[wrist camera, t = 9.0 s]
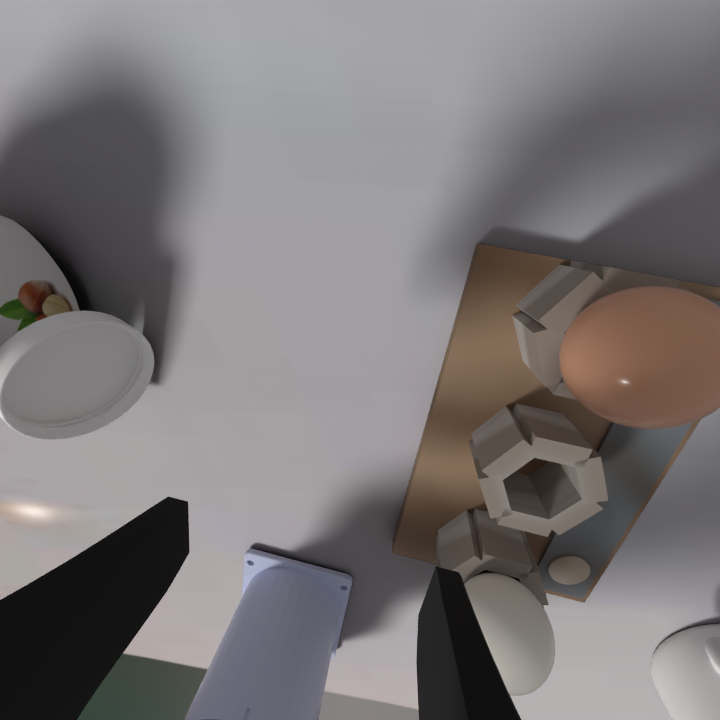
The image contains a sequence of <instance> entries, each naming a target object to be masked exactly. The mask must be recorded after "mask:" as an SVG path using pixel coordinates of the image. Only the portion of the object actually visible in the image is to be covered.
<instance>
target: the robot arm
mask: <svg viewBox="0 0 720 720" xmlns="http://www.w3.org/2000/svg"><path fill="white" fill-rule="evenodd" d="M188 554H189V522H188V502H187V501H183V500H179V499H175V498H171V497H167V498H165V499H164V500H162V501H161V502H159V503H158V504H156V505H154V506H153V507H151V508H150V509H148V510H147V511H145V512H144V513H142V514H141V515H139V516H138V517H136V518H135V519H133V520H131V521H130V522H128V523H127V524H125V525H124V526H122V527H121V528H119V529H118V530H116V531H115V532H113V533H111V534H110V535H108V536H107V537H105V538H104V539H102V540H100V541H99V542H97V543H96V544H94V545H92V546H91V547H89V548H88V549H86V550H85V551H83V552H81V553H80V554H78V555H77V556H75V557H73V558H72V559H70V560H68V561H67V562H65V563H63V564H62V565H60V566H58V567H57V568H55V569H53V570H52V571H50V572H48V573H46V574H45V575H43V576H41V577H40V578H38V579H36V580H35V581H33V582H31V583H30V584H28V585H26V586H24V587H23V588H21V589H19V590H17V591H16V592H14V593H12V594H10V595H8V596H7V597H5V598H3V599H1V600H0V720H77V719H78V717H79V715H80V714H81V712H82V711H83V709H84V707H85V706H86V705H87V703H88V702H89V700H90V699H91V697H92V696H93V694H94V693H95V691H96V689H97V688H98V687H99V685H100V684H101V683H102V681H103V680H104V678H105V677H106V676H107V674H108V673H109V672H110V670H111V669H112V667H113V666H114V664H115V663H116V662H117V660H118V659H119V658H120V656H121V655H122V653H123V652H124V651H125V649H126V648H127V646H128V645H129V644H130V642H131V641H132V639H133V638H134V637H135V635H136V634H137V633H138V631H139V630H140V628H141V627H142V626H143V624H144V623H145V621H146V620H147V619H148V617H149V616H150V614H151V613H152V611H153V610H154V609H155V607H156V606H157V604H158V603H159V602H160V600H161V599H162V597H163V596H164V594H165V593H166V592H167V590H168V588H169V587H170V585H171V583H172V582H173V580H174V578H175V577H176V575H177V573H178V571H179V570H180V568H181V566H182V564H183V562H184V561H185V559H186V557H187V555H188ZM351 586H352V577H351V576H350V575H348V574H345V573H341V572H338V571H334V570H330V569H326V568H323V567H319V566H315V565H311V564H308V563H304V562H300V561H296V560H293V559H289V558H285V557H281V556H278V555H274V554H270V553H266V552H263V551H259V550H255V549H248V550H247V551H246V553H245V556H244V572H243V589H242V599H241V601H240V603H239V605H238V607H237V609H236V611H235V614H234V616H233V618H232V620H231V622H230V624H229V626H228V628H227V630H226V633H225V635H224V637H223V639H222V641H221V643H220V645H219V647H218V649H217V652H216V654H215V656H214V658H213V660H212V662H211V664H210V666H209V668H208V671H207V673H206V675H205V677H204V679H203V681H202V683H201V685H200V688H199V689H198V692H197V694H196V696H195V698H194V700H193V702H192V704H191V706H190V708H189V711H188V713H187V715H186V717H185V719H184V720H318V719H319V714H320V709H321V704H322V698H323V694H324V689H325V684H326V679H327V674H328V668H329V663H330V659H331V658H334V657H335V653H336V649H337V645H338V641H339V637H340V632H341V628H342V624H343V620H344V615H345V611H346V607H347V603H348V599H349V594H350V590H351ZM417 683H418V705H419V720H521V718H520V716H519V714H518V712H517V710H516V708H515V706H514V704H513V701H512V699H511V697H510V695H509V693H508V691H507V688H506V686H505V684H504V682H503V679H502V677H501V675H500V672H499V670H498V668H497V666H496V663H495V661H494V659H493V656H492V654H491V652H490V649H489V647H488V645H487V642H486V640H485V637H484V635H483V632H482V630H481V627H480V625H479V622H478V620H477V617H476V615H475V612H474V609H473V607H472V604H471V602H470V599H469V596H468V593H467V591H466V588H465V585H464V582H463V579H462V577H461V575H460V573H459V572H456V571H452V570H448V569H444V568H441V567H437V566H436V568H435V571H434V574H433V576H432V579H431V582H430V585H429V587H428V590H427V593H426V596H425V598H424V601H423V604H422V607H421V609H420V612H419V617H418V638H417Z"/></svg>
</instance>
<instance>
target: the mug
mask: <svg viewBox="0 0 720 720" xmlns="http://www.w3.org/2000/svg"><path fill="white" fill-rule="evenodd" d="M651 674H652V678H653V681H654V684H655V686H656V688H657V690H658V692H659V694H660V697H661V699H662V701H663V702H664V704H665V706H666V708H667V710H668V712H669V714H670V716H671V718H672V720H720V624H707V625H701V626H696V627H692V628H689V629H686V630H683V631H680V632H678V633H676V634H674V635H672V636H670V637H669V638H667V639H666V640H664V641H663V642H662V643H661V644H660V645H659V646H658V648H657V649H656V650H655V652H654V654H653V657H652V661H651Z"/></svg>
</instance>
